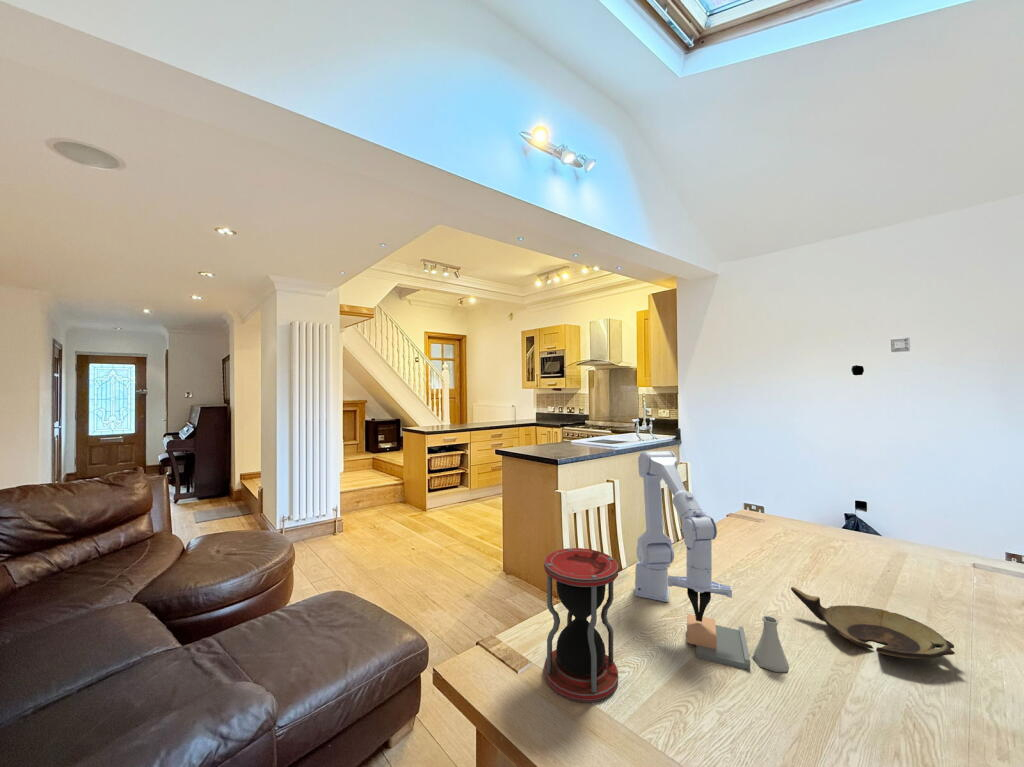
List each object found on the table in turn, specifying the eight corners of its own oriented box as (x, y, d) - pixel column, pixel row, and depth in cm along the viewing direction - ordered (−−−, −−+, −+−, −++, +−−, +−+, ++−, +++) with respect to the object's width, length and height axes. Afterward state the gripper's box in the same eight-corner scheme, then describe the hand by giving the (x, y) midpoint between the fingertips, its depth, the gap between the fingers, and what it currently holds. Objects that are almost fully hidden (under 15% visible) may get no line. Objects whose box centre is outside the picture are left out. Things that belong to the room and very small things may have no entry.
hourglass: (632, 696, 84) (632, 574, 84) (557, 709, 81) (557, 582, 81) (599, 647, 100) (599, 544, 100) (535, 656, 97) (535, 550, 97)
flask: (783, 656, 97) (783, 613, 97) (793, 676, 90) (793, 631, 90) (749, 649, 100) (749, 608, 100) (756, 669, 93) (756, 624, 93)
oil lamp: (920, 692, 86) (920, 655, 86) (780, 617, 114) (779, 589, 114) (974, 665, 94) (974, 631, 94) (831, 601, 122) (831, 575, 122)
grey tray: (696, 657, 97) (696, 647, 97) (696, 625, 109) (696, 617, 109) (750, 670, 92) (750, 660, 92) (743, 635, 105) (743, 627, 105)
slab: (686, 630, 100) (716, 636, 98) (687, 613, 108) (714, 619, 105) (686, 642, 100) (716, 649, 98) (687, 625, 108) (714, 631, 105)
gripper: (667, 566, 102) (667, 620, 102) (733, 577, 96) (733, 635, 96) (668, 555, 109) (668, 606, 109) (730, 565, 103) (730, 619, 103)
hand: (698, 619), depth 103 cm, fingers closed
